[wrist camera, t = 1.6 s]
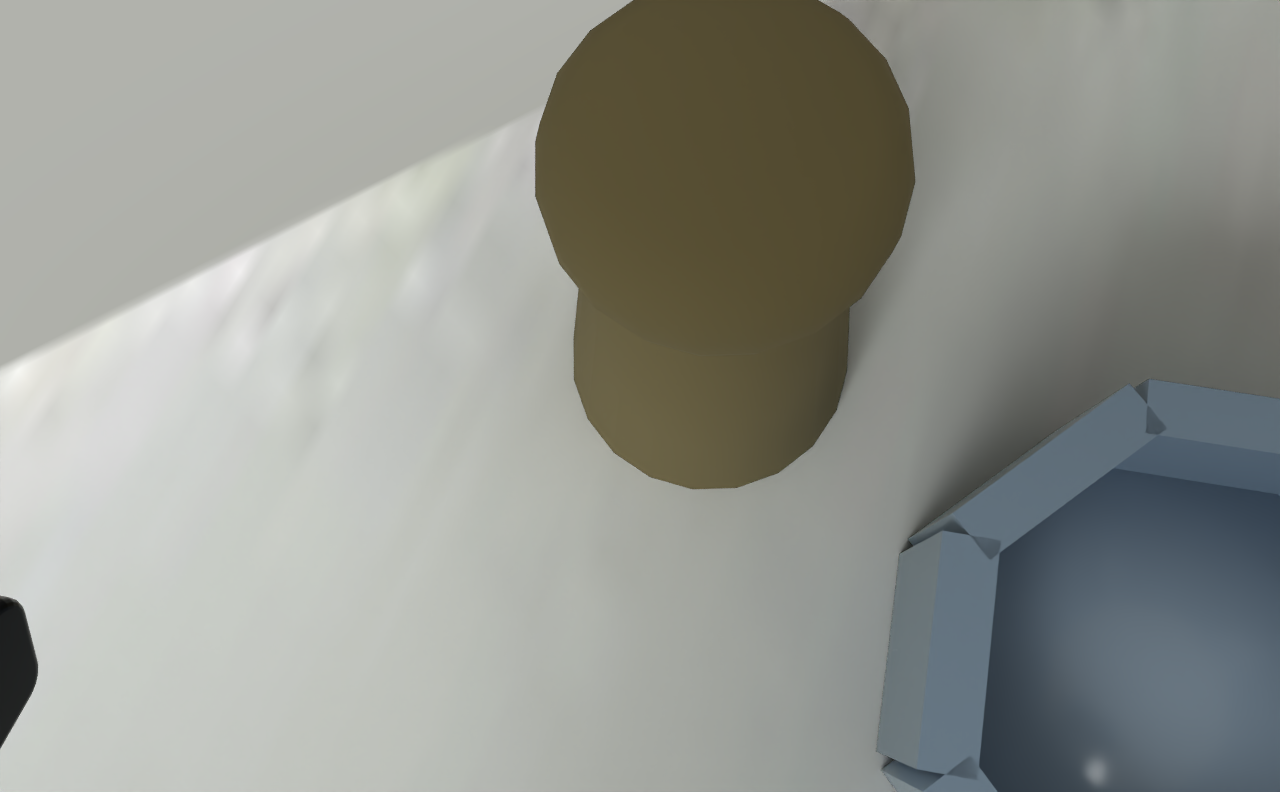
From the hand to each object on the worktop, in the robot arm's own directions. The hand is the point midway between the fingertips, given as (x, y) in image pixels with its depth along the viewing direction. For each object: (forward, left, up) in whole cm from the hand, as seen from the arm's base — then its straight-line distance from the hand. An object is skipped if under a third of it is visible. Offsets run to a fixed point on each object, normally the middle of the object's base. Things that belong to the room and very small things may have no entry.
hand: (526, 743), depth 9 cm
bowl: (-6, -9, -14) cm, 17 cm away
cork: (+5, -6, -14) cm, 16 cm away
